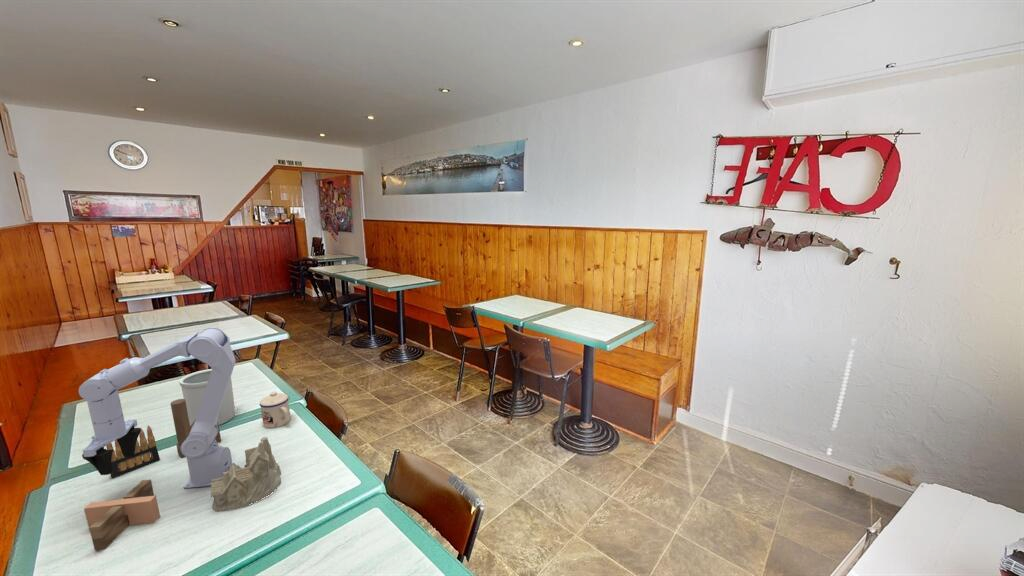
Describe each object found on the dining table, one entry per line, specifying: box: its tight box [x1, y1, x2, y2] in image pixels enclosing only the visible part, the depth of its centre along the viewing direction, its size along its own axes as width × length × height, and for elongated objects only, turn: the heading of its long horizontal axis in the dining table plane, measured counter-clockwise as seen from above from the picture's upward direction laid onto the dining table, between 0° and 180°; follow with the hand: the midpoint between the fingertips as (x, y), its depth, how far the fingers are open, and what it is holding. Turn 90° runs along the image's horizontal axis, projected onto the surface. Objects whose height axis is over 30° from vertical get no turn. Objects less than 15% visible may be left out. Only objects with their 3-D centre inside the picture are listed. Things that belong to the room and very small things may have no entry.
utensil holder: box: [179, 368, 236, 426], centre depth 144 cm, size 15×15×18 cm
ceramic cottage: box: [210, 436, 282, 512], centre depth 108 cm, size 16×16×15 cm
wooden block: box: [170, 398, 222, 458], centre depth 126 cm, size 4×11×18 cm, turn 146°
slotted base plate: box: [88, 479, 155, 551], centre depth 97 cm, size 16×2×6 cm, turn 10°
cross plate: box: [83, 494, 161, 531], centre depth 97 cm, size 14×2×6 cm, turn 100°
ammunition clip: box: [105, 425, 161, 479], centre depth 117 cm, size 11×2×12 cm, turn 144°
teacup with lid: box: [259, 391, 291, 429], centre depth 141 cm, size 12×9×12 cm
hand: (118, 464), depth 105 cm, fingers open, 7 cm apart
